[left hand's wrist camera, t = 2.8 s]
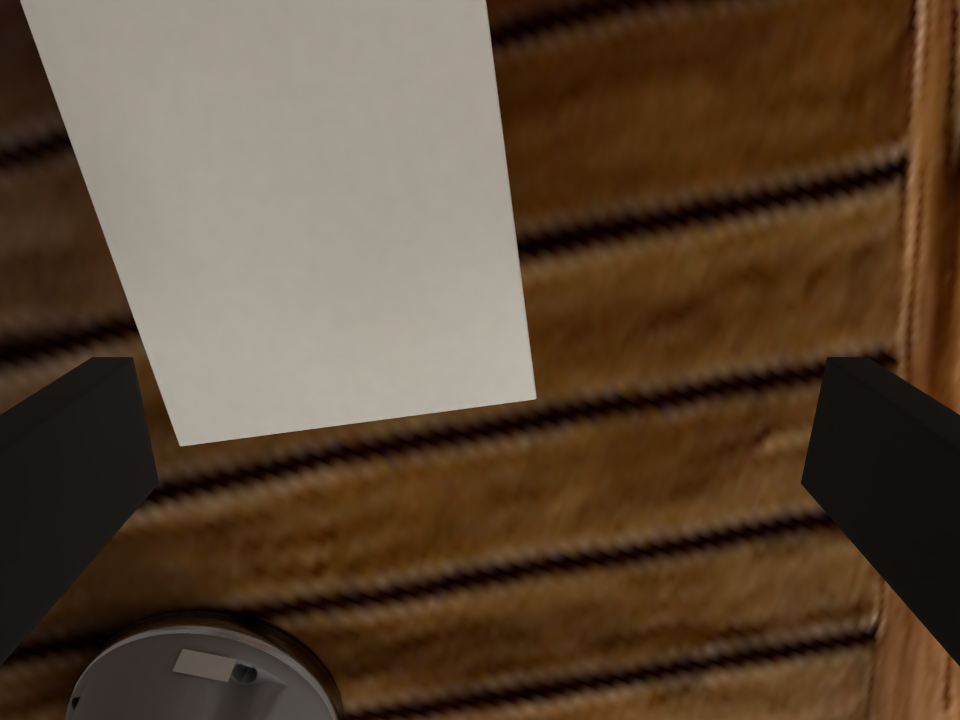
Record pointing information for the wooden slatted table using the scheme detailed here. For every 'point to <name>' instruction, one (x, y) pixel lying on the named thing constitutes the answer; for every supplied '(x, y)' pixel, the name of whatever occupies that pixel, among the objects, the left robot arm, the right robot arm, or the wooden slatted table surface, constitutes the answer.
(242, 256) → the cabinet
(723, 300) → the wooden slatted table surface
